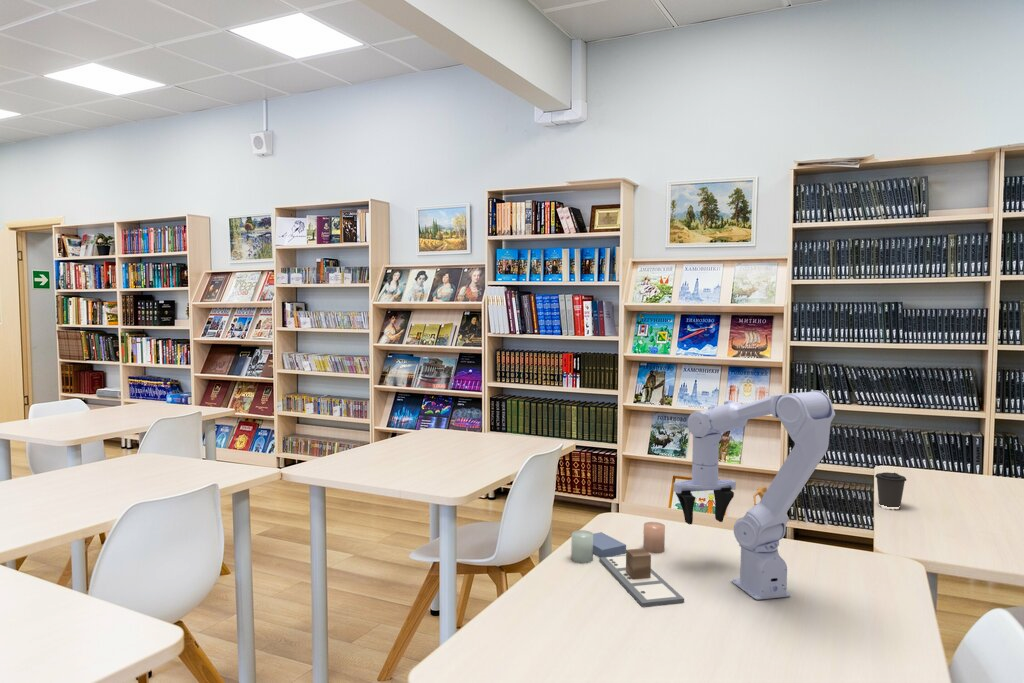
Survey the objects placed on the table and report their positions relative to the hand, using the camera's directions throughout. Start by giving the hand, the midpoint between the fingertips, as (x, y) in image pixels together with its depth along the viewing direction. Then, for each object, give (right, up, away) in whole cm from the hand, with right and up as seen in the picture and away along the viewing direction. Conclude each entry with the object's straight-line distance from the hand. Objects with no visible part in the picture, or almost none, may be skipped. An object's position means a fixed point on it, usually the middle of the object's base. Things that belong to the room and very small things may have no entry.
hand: (703, 521), depth 154 cm
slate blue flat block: (-22, -10, +10) cm, 26 cm away
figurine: (+23, -9, +22) cm, 33 cm away
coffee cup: (+67, -8, +44) cm, 80 cm away
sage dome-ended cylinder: (-27, -10, +3) cm, 29 cm away
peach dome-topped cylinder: (-9, -9, +10) cm, 16 cm away
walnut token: (-16, -9, -8) cm, 21 cm away
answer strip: (-16, -10, -8) cm, 21 cm away
